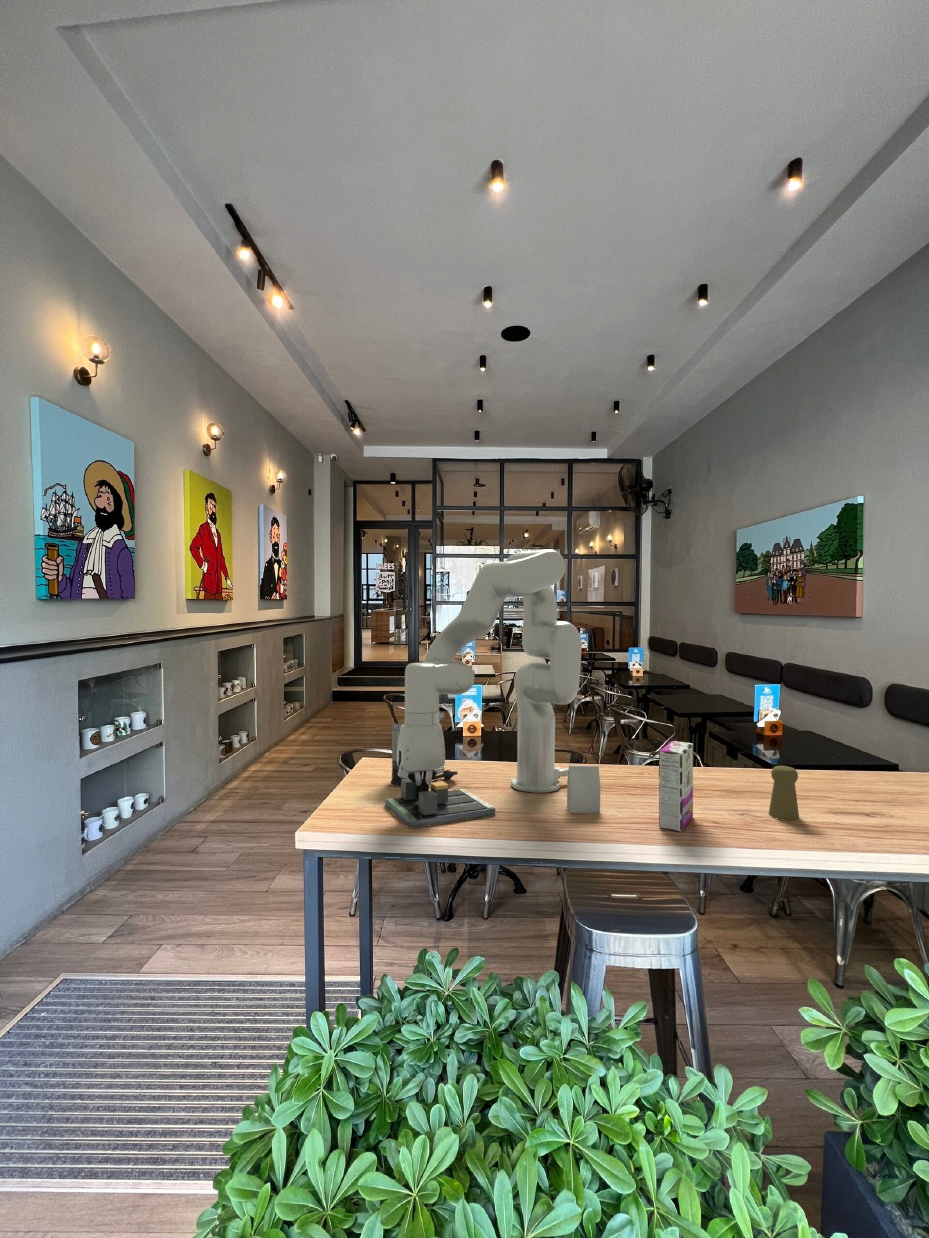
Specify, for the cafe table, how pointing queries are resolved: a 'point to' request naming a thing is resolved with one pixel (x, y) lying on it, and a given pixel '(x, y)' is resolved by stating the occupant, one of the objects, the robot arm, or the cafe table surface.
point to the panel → (441, 809)
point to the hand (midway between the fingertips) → (421, 801)
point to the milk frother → (395, 778)
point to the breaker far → (407, 789)
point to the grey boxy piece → (583, 789)
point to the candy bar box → (675, 785)
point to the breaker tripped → (440, 791)
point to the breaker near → (428, 802)
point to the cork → (784, 794)
